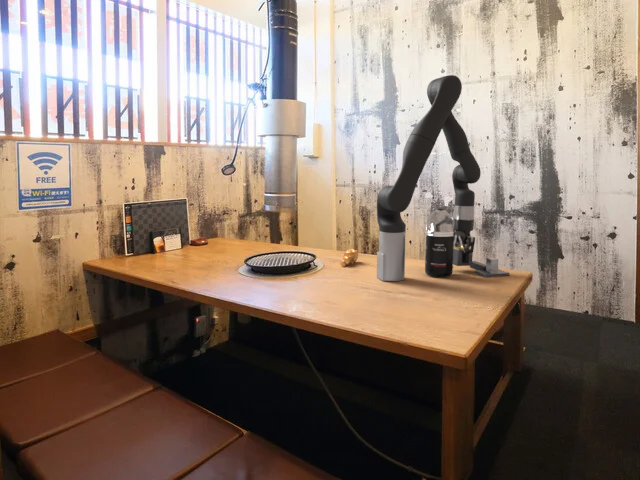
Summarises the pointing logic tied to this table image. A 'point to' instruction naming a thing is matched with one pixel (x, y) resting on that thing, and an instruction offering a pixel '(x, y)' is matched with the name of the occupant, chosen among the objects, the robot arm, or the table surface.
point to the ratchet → (488, 268)
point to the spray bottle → (439, 244)
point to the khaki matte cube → (460, 257)
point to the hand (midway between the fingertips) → (460, 261)
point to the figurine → (349, 257)
